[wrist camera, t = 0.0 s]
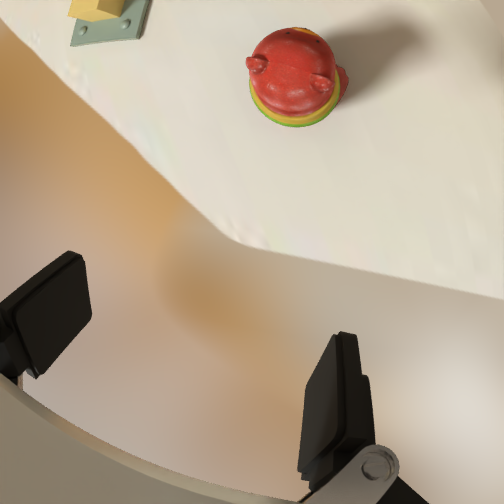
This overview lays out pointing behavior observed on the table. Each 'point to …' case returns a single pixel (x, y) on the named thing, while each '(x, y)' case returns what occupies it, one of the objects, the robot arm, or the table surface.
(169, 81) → the table surface
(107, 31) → the baseplate
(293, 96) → the stacking bear
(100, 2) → the mustard cube
